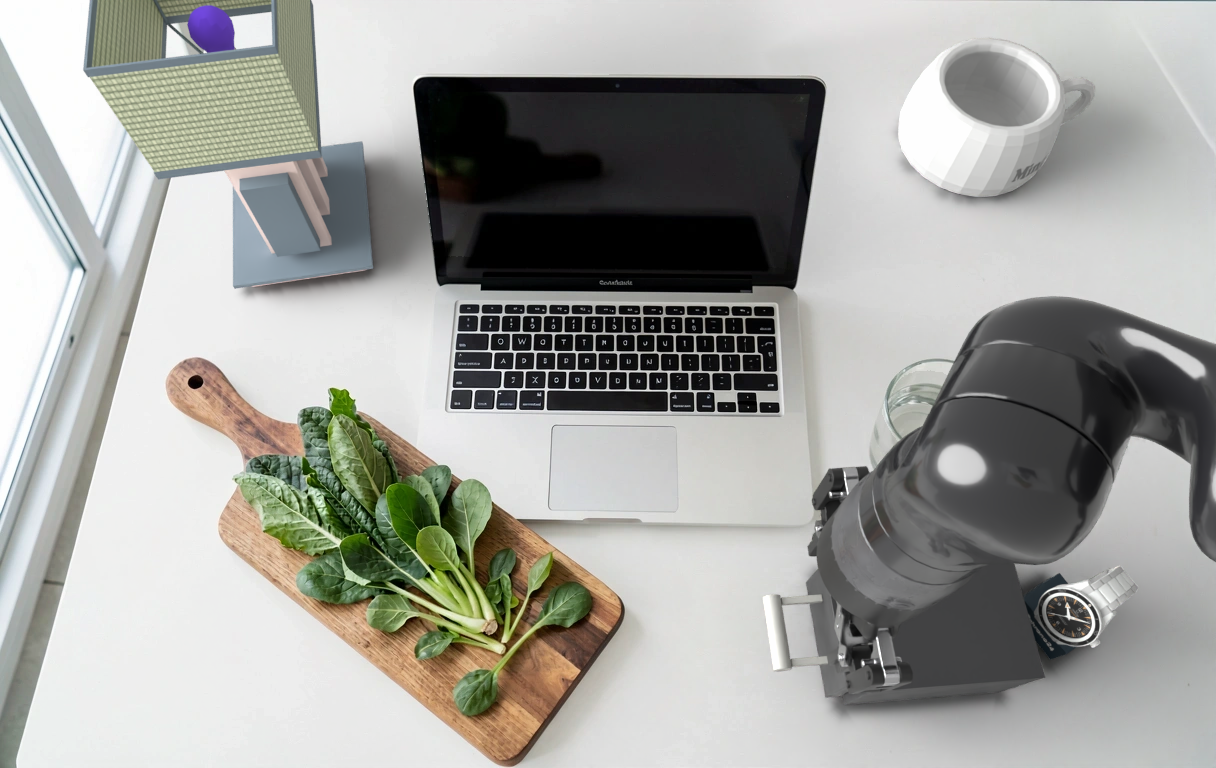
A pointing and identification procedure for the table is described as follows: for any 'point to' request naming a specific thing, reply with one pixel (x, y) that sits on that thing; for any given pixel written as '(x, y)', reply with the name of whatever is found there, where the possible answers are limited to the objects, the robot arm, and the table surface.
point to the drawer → (824, 631)
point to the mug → (986, 116)
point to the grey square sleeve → (967, 642)
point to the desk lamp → (238, 128)
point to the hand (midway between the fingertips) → (831, 603)
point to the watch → (1075, 609)
